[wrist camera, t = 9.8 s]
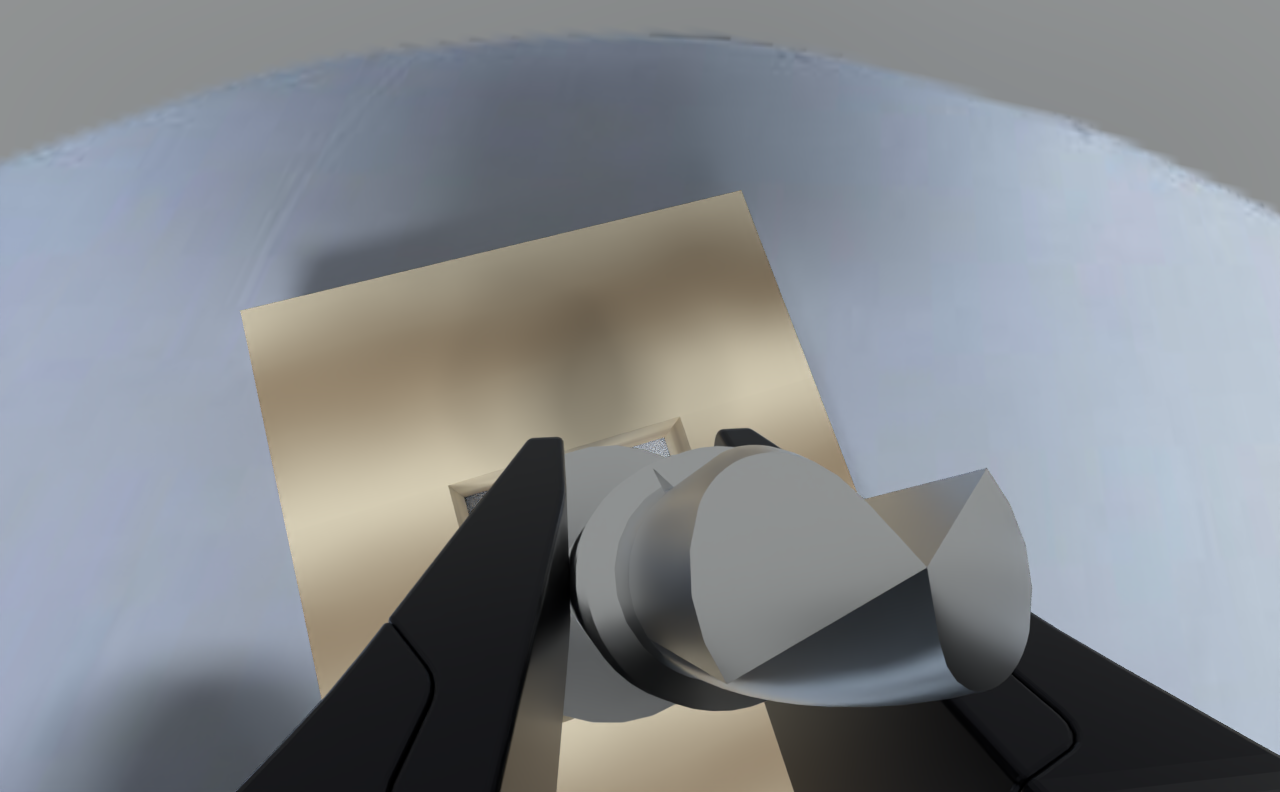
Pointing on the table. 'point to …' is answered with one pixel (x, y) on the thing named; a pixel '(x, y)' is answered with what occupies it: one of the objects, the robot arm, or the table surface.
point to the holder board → (528, 428)
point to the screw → (782, 585)
